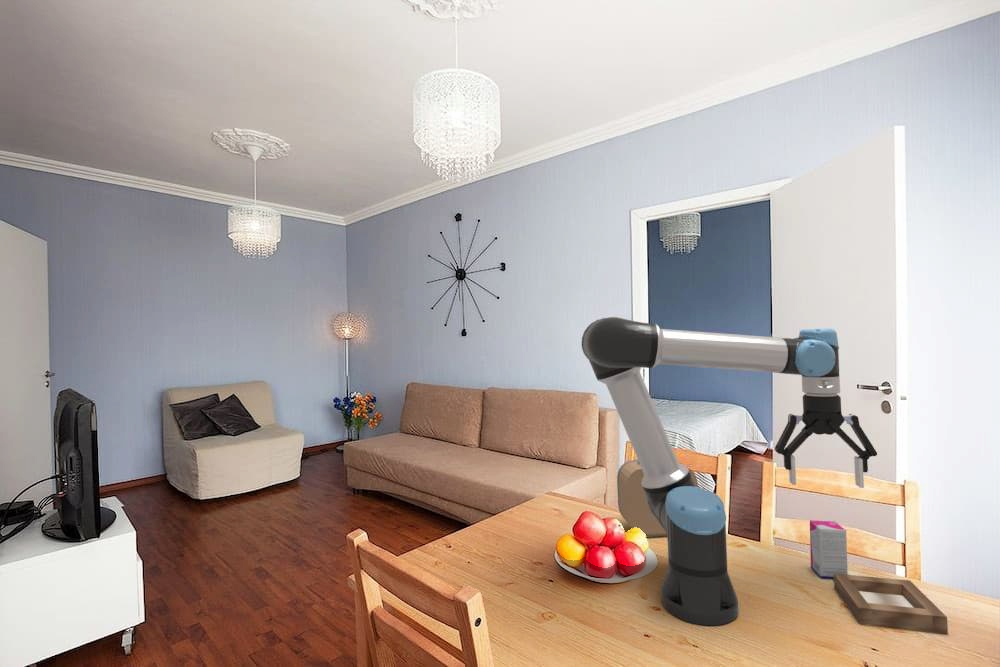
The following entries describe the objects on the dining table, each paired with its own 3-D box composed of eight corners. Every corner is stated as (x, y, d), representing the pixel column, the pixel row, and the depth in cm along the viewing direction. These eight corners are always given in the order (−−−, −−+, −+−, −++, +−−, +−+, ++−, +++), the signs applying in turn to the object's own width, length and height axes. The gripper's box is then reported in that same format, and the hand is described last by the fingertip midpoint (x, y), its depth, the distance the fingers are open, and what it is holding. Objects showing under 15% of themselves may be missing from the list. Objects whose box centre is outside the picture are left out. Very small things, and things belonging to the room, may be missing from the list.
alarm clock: (685, 522, 149) (682, 451, 149) (699, 535, 139) (696, 459, 140) (618, 527, 148) (615, 455, 148) (628, 540, 138) (625, 463, 138)
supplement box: (849, 580, 112) (847, 530, 112) (820, 578, 113) (818, 529, 113) (837, 568, 117) (835, 520, 117) (809, 567, 119) (807, 519, 119)
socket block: (859, 624, 95) (858, 607, 95) (834, 587, 109) (833, 573, 109) (947, 634, 91) (947, 617, 91) (910, 595, 104) (909, 580, 105)
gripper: (765, 396, 116) (769, 486, 115) (891, 395, 108) (896, 492, 108) (758, 392, 123) (763, 477, 123) (877, 391, 115) (881, 482, 115)
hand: (825, 484), depth 115 cm, fingers open, 13 cm apart
